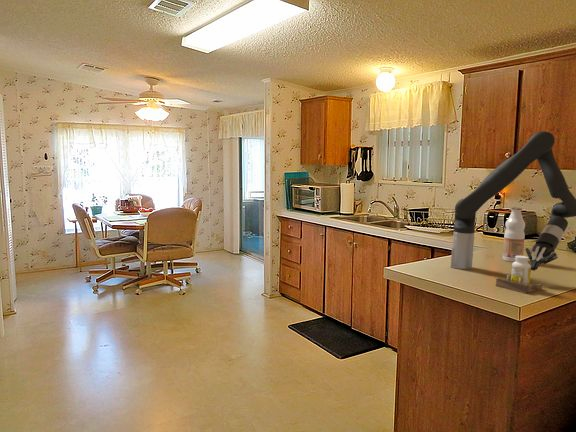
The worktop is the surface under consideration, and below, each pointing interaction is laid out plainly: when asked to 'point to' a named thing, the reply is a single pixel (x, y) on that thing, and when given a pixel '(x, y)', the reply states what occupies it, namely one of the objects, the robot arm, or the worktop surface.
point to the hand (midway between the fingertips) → (532, 269)
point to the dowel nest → (517, 285)
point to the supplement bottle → (521, 270)
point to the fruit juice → (514, 235)
